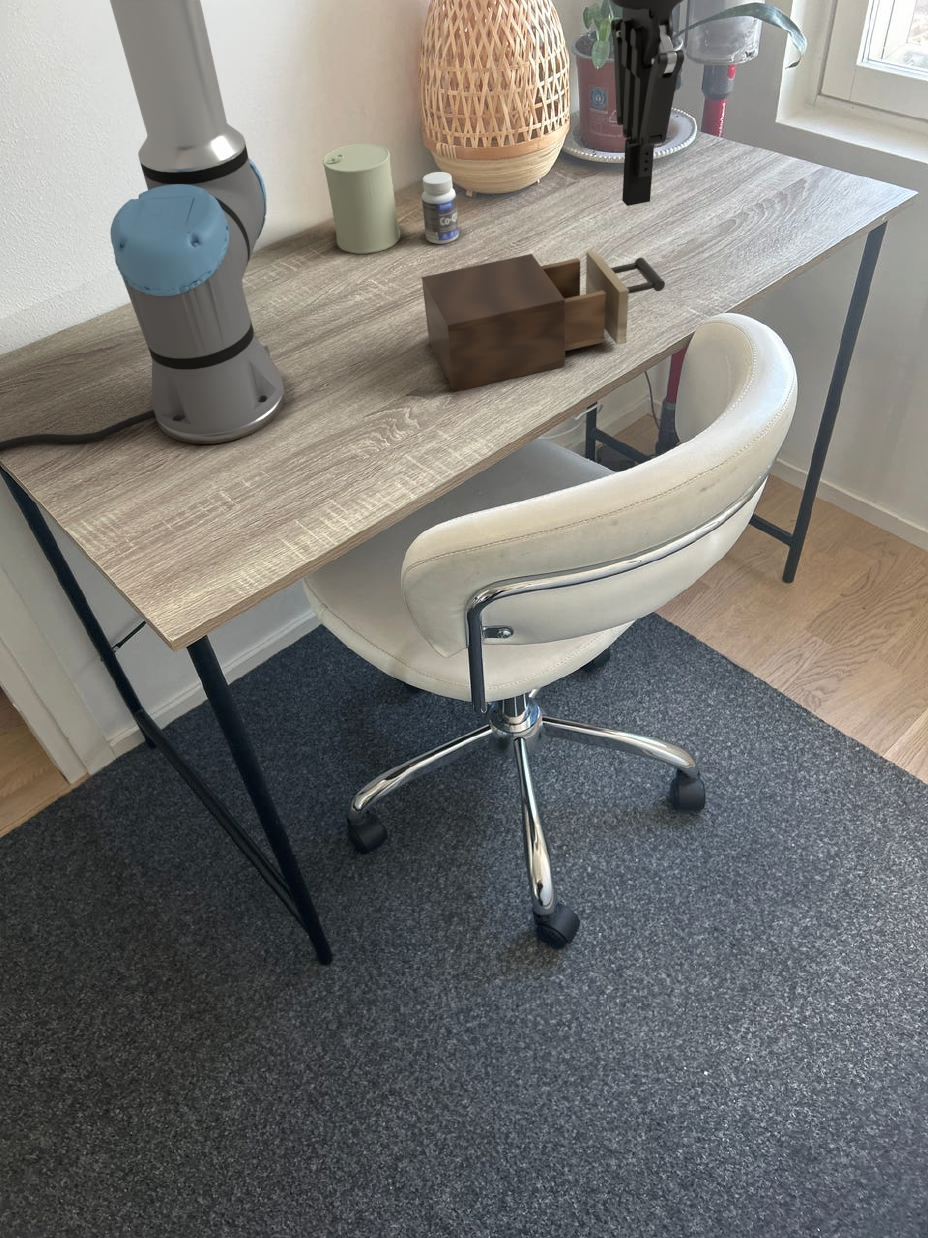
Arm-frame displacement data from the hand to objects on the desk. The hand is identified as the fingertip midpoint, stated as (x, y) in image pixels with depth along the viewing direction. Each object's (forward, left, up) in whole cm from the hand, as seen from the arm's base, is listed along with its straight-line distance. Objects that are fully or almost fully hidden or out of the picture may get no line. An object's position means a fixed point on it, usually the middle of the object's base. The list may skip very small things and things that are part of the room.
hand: (636, 200), depth 109 cm
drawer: (-6, 0, -14) cm, 16 cm away
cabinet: (-17, 0, -15) cm, 23 cm away
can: (-25, +36, -15) cm, 47 cm away
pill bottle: (-15, +32, -15) cm, 39 cm away
